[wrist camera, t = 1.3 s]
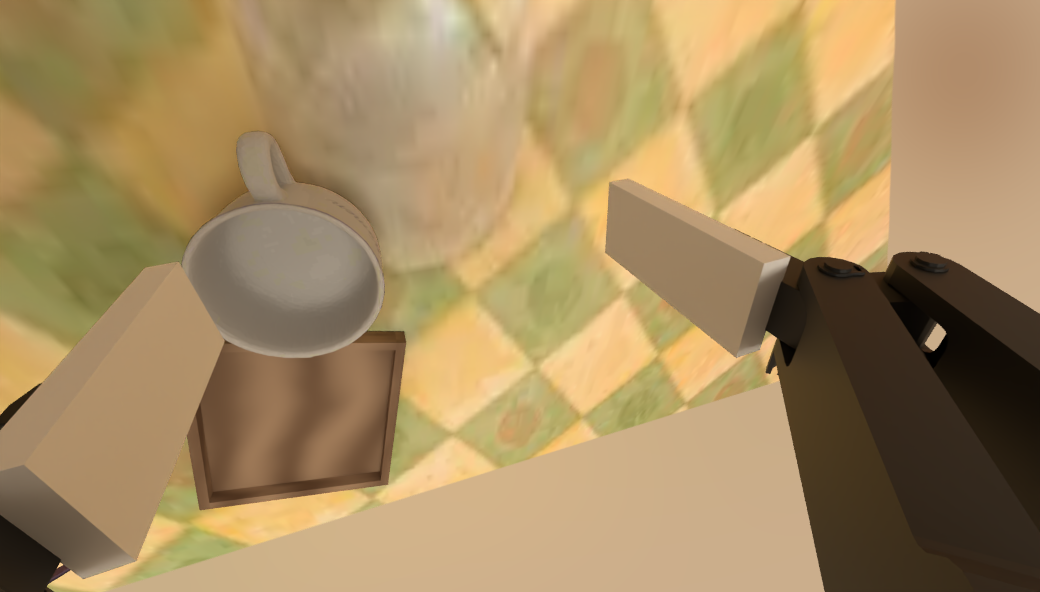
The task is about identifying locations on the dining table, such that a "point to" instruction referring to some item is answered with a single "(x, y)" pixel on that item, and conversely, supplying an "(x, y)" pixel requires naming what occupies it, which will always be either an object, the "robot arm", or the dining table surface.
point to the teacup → (286, 262)
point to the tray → (297, 422)
